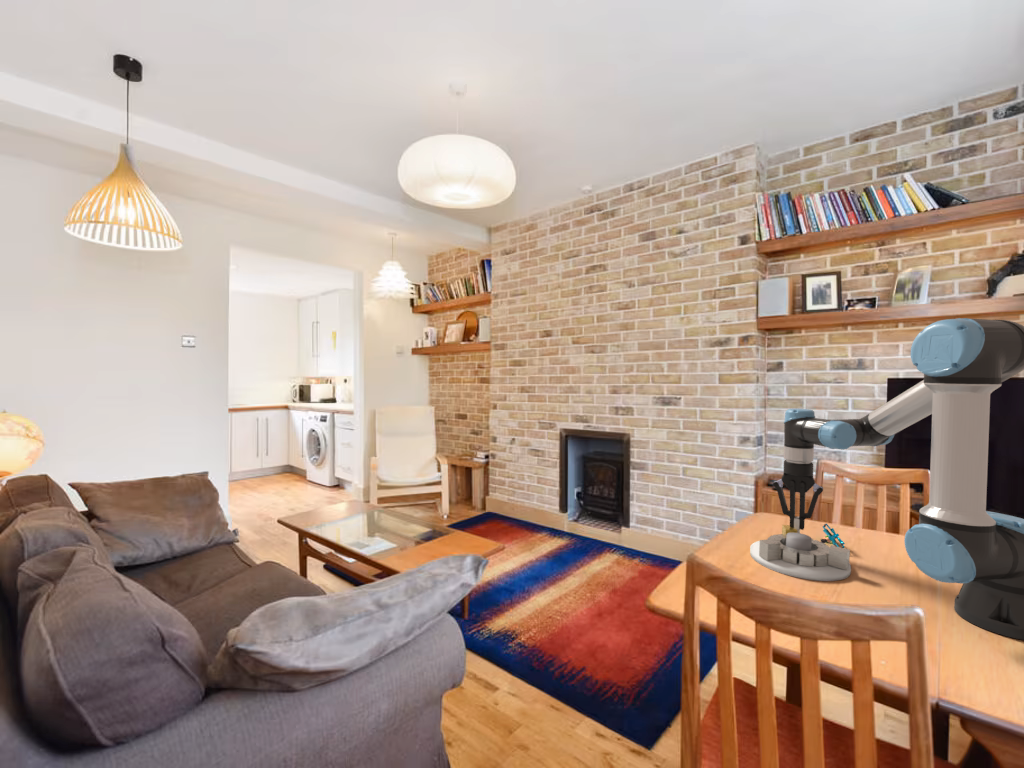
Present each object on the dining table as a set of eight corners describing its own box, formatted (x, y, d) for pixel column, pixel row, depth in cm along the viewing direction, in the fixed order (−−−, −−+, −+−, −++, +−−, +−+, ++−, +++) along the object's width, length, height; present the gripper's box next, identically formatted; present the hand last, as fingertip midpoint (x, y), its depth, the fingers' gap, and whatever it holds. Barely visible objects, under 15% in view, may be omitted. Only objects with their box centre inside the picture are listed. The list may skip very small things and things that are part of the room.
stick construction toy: (851, 547, 136) (832, 522, 139) (828, 558, 137) (810, 534, 140) (841, 544, 146) (823, 521, 150) (820, 555, 148) (803, 532, 151)
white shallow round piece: (873, 581, 119) (874, 554, 119) (778, 580, 120) (779, 553, 119) (814, 544, 143) (815, 522, 143) (735, 543, 144) (735, 521, 143)
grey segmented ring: (827, 544, 139) (828, 529, 139) (853, 571, 121) (854, 554, 121) (748, 535, 146) (748, 521, 145) (761, 560, 127) (762, 544, 127)
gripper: (825, 461, 138) (823, 540, 139) (775, 456, 146) (773, 531, 147) (823, 465, 132) (821, 548, 133) (772, 460, 140) (770, 538, 141)
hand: (796, 539), depth 140 cm, fingers closed
